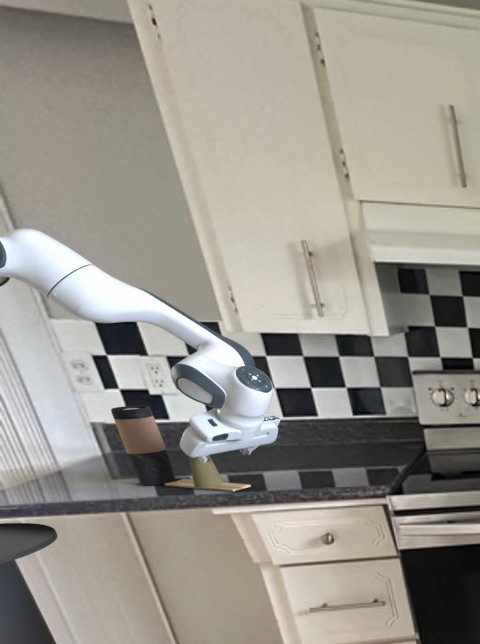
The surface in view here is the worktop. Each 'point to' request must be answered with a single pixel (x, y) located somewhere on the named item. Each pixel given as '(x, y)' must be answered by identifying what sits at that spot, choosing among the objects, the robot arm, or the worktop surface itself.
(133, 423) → the travel mug
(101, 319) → the robot arm
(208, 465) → the olive green tapered cylinder
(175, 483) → the strip
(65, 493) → the worktop surface
